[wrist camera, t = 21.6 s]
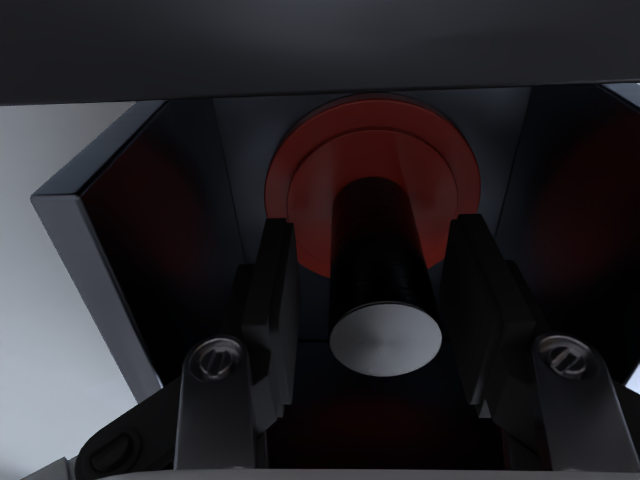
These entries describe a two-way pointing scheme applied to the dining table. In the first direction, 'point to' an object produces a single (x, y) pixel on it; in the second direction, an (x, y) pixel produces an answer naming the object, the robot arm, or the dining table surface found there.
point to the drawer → (263, 139)
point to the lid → (375, 220)
